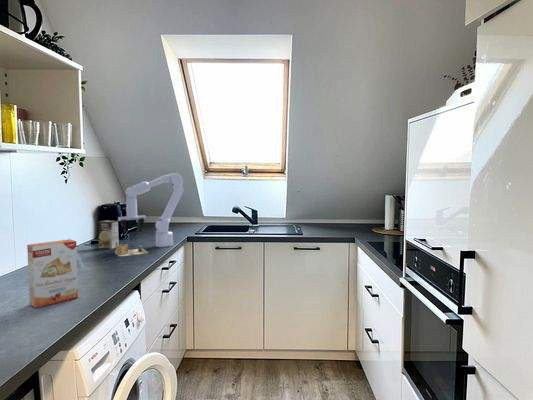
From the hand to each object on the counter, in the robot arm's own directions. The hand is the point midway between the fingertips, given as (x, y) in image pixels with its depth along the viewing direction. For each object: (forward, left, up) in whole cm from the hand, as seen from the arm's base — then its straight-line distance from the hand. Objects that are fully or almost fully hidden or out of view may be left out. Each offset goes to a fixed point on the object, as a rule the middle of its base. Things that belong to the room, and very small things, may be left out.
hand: (132, 232), depth 210 cm
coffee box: (+11, -11, -10) cm, 19 cm away
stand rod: (-1, +10, -9) cm, 13 cm away
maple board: (+3, +10, -10) cm, 14 cm away
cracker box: (+41, +70, -10) cm, 82 cm away
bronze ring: (+8, +10, -9) cm, 15 cm away
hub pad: (+8, +10, -9) cm, 15 cm away
